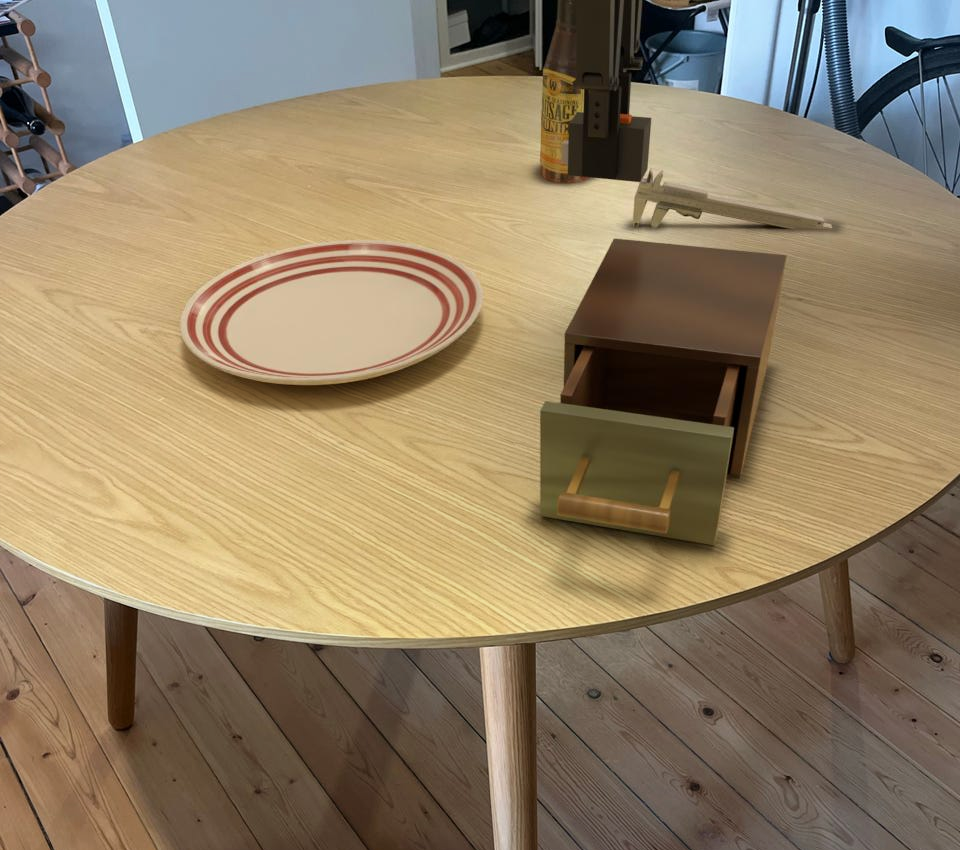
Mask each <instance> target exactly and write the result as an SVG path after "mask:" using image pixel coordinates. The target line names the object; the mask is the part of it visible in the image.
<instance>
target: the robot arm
mask: <svg viewBox="0 0 960 850" xmlns="http://www.w3.org/2000/svg"><path fill="white" fill-rule="evenodd" d="M642 10H643V0H576V79H575V80H574V81H573V89H584V111H583V148H582V176H586V177H589V178H590V177H598V178H597V179H600V178H609V179H608V180H611V179H615V178H616V176H617V167H618V147H619V128H620V114H629V115H630V106H631V88H632V71H631V72H630V71H629V72H628V71H627V70H633V71H641V70H642V67H643V62H644V57H641V56H635V55H634V54H637V53H638V51H639V50H640V45H641V40H640V36H641V35H640V33H641V24H642V23H641V22H642Z"/></svg>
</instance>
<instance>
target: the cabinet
mask: <svg viewBox="0 0 960 850" xmlns="http://www.w3.org/2000/svg"><path fill="white" fill-rule="evenodd" d="M611 241H612V242H611V243H610V245H609V246H608V250H607V251H606V253H605V255H604V257H603V259H602V261H601V263H600V264H599V266H598V268H597V271H596V272H595V274H594V276H593V277H592V280H591V282H590V284H589V286H588V288H587V290H586V291H585V294H584V295H583V297H582V299H581V301H580V303H579V305H578V307H577V309H576V310H575V312H574V315H573V317H572V319H571V320H570V322H569V323H568V326H567V328H566V329H565V332H564V341H563V342H564V346H563V347H564V348H563V351H564V352H563V387H564V386H565V384H566V382H567V380H568V378H569V376H570V374H571V372H572V370H573V368H574V366H575V364H576V362H577V359H578V357H579V355H580V353H581V351H582V349H583V347H584V345H585V346H593V347H601V348H609V349H617V350H625V351H633V352H641V353H649V354H657V355H665V356H673V357H681V358H689V359H697V360H705V361H713V362H721V363H729V364H737V365H745V367H744V373H743V379H742V386H741V392H740V398H739V404H738V411H737V416H736V423H735V427H734V432H733V439H732V445H731V451H730V458H729V464H728V470H727V476H726V477H728V478H734V479H741V477H742V473H743V470H744V465H745V460H746V457H747V452H748V448H749V444H750V439H751V435H752V431H753V427H754V424H755V420H756V415H757V411H758V407H759V403H760V399H761V394H762V391H763V386H764V381H765V378H766V374H767V370H768V369H767V368H768V364H769V359H770V358H769V357H770V353H771V346H772V342H773V335H774V329H775V323H776V319H777V312H778V308H779V303H780V297H781V296H780V295H781V291H782V284H783V279H784V274H785V268H786V263H787V257H788V256H787V255H786V254H780V253H779V254H778V253H769V252H768V253H767V252H759V251H757V252H756V251H748V250H737V249H727V248H717V247H707V246H695V245H687V244H676V243H666V242H655V241H644V240H634V239H623V238H616V237H615V238H613V240H611Z"/></svg>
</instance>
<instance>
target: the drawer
mask: <svg viewBox="0 0 960 850" xmlns="http://www.w3.org/2000/svg"><path fill="white" fill-rule="evenodd" d="M744 367H745V365H737V364H729V363H721V362H713V361H705V360H697V359H689V358H681V357H673V356H665V355H657V354H649V353H641V352H633V351H625V350H617V349H609V348H601V347H593V346H585V345H584V347H583V349H582V351H581V353H580V355H579V357H578V359H577V362H576V364H575V366H574V368H573V370H572V372H571V374H570V376H569V378H568V380H567V382H566V384H565V386H564V385H563V389H562V390H561V392H560V396H559V398H560V399H559V401H560V402H555V401H548V400H545V401H544V402H543V404H542V406H541V408H540V410H539V431H540V432H539V447H540V448H539V490H540V492H539V503H540V504H539V514H540V517H544V518H551V519H555V520H556V519H557V520H563V521H569V522H574V523H579V524H586V525H592V526H598V527H604V528H611V529H617V530H622V531H627V532H632V533H633V532H634V533H639V534H646V535H651V536H657V537H662V538H663V537H664V538H669V539H676V540H681V541H687V542H693V543H697V544H698V543H699V544H704V545H710V546H715V545H716V541H717V537H718V533H719V526H720V519H721V513H722V507H723V501H724V494H725V489H726V482H727V477H728V476H727V470H728V464H729V458H730V451H731V445H732V439H733V432H734V427H735V423H736V416H737V411H738V404H739V398H740V392H741V386H742V379H743V373H744Z"/></svg>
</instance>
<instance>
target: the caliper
mask: <svg viewBox="0 0 960 850" xmlns="http://www.w3.org/2000/svg"><path fill="white" fill-rule="evenodd" d="M663 177H664V170H663V169H662V170H660V171H659V172H658V173H657V174H656V175H655V178H654V172H653V168H652V167H650V168H649V171H648V174H647V178H645V177H643V178H642V180H641V182H638V183H639V184H638V186H637V189H636V192H635V194H634V200H633V213H632V228H639V226H640V224H641V220H642V217H643V215H644V211H645V208H646V206H647V203H648V202H652V203H656V204H655V206H654V210H653V213H652V216H651V219H650V228H653V229H655V228H656V229H657V228H658V227H659V225H660V224H661V222H662V221H663V219H664V218H665V216H666V215H667V213H668V212H669V210H673V211H675V212H676V213H678V214H679V215H681V216H683V217H691V218H693V219H695V220H699V219H700V218H701V216H702V213H706V214H711V215H716V216H720V217H721V216H722V217H726V218H730V219H731V218H732V219H737V220H742V221H747V222H752V223H758V224H761V225H768V226H772V227H776V228H783V229H786V230H833V226H832V223H828V222H825V220H824V216H818V215H813V214H809V213H803V212H799V211H793V210H788V209H784V208H778V207H773V206H768V205H763V204H758V203H753V202H747V201H743V200H737V199H732V198H726V197H722V196H717V195H711V194H708V190H707V189H703V188H700V187H699V188H698V187H694V186H690V185H685V184H680V183H675V182H671V181H664V182H663V184H662V185H661V182H662V180H663Z"/></svg>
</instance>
